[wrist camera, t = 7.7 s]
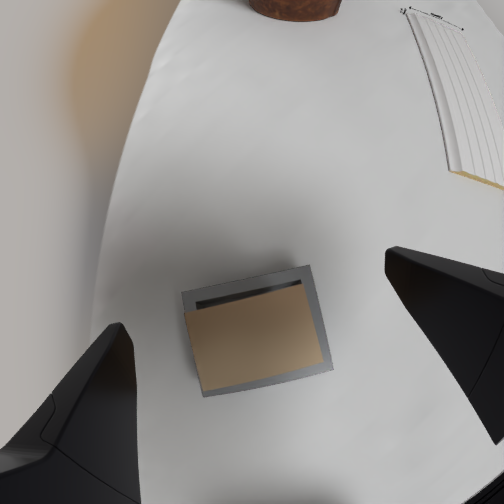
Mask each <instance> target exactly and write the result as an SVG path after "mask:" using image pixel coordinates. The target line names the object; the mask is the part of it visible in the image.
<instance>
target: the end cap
mask: <svg viewBox="0 0 504 504" xmlns="http://www.w3.org/2000/svg"><path fill="white" fill-rule="evenodd" d="M299 284H303V285H304V289H305V293H306V296H307V300H308V304H309V307H310V311H311V315H312V318H313V322H314V326H315V330H316V334H317V337H318V341H319V345H320V349H321V353H322V357H323V361H324V362H322V363H318V364H315V365H312V366H308V367H305V368H301V369H298V370H294V371H291V372H287V373H283V374H279V375H275V376H272V377H268V378H264V379H259V380H255V381H251V382H247V383H242V384H238V385H233V386H228V387H223V388H218V389H213V390H208V391H203V389H202V385H201V381H200V377H199V374H198V378H199V382H200V386H201V391H202V395H203V397H209V396H216V395H222V394H228V393H234V392H239V391H245V390H250V389H255V388H260V387H265V386H270V385H275V384H279V383H284V382H288V381H292V380H296V379H300V378H304V377H308V376H312V375H316V374H320V373H324V372H327V371H331V370H334V368H333V363H332V359H331V354H330V349H329V345H328V340H327V335H326V331H325V327H324V322H323V318H322V313H321V309H320V305H319V301H318V296H317V292H316V288H315V284H314V280H313V276H312V272H311V268H310V265H306V266H302V267H298V268H293V269H289V270H284V271H280V272H275V273H271V274H266V275H261V276H257V277H252V278H247V279H243V280H238V281H233V282H229V283H224V284H219V285H214V286H209V287H204V288H200V289H195V290H190V291H185V292H181V293H182V298H183V304H184V309H185V313H187V312H191V311H195V310H200V309H204V308H208V307H212V306H217V305H221V304H225V303H229V302H233V301H237V300H241V299H245V298H249V297H253V296H257V295H261V294H265V293H269V292H273V291H277V290H281V289H284V288H288V287H292V286H296V285H299ZM193 355H194V354H193ZM194 360H195V358H194ZM195 364H196V362H195ZM196 369H197V366H196ZM197 373H198V370H197Z"/></svg>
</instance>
